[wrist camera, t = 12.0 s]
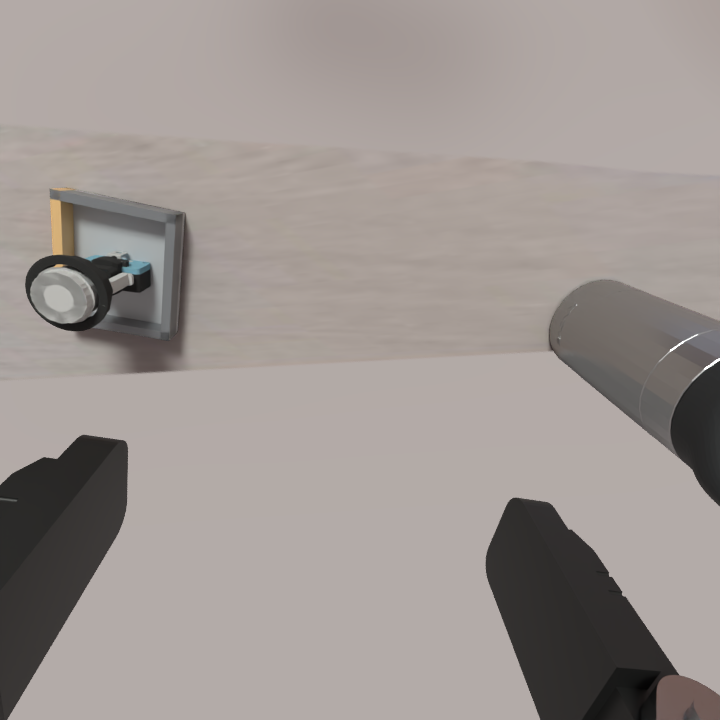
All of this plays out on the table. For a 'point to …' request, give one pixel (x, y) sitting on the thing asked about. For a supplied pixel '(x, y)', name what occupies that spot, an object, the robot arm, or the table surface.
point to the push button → (82, 287)
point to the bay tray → (142, 243)
